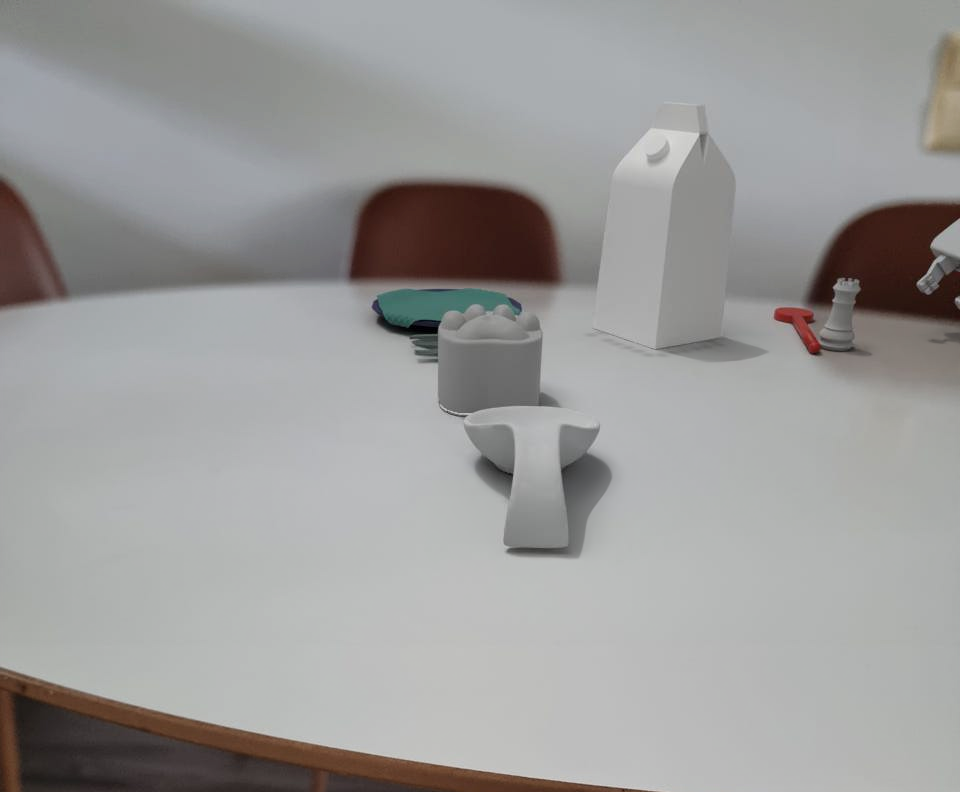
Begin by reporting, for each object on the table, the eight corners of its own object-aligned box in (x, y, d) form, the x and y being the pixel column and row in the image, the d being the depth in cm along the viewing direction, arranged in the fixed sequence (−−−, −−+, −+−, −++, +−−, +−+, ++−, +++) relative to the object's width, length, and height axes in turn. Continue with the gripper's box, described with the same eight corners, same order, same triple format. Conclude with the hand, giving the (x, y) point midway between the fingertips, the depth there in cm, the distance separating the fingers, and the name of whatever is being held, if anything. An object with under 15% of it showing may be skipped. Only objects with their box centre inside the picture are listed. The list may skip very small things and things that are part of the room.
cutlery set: (506, 301, 139) (506, 284, 138) (554, 358, 114) (556, 339, 113) (366, 303, 136) (366, 286, 135) (385, 363, 111) (384, 342, 110)
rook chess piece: (810, 342, 124) (823, 276, 119) (844, 342, 124) (858, 276, 120) (824, 351, 120) (838, 283, 116) (859, 351, 120) (874, 284, 116)
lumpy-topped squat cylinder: (437, 415, 96) (437, 326, 91) (438, 377, 107) (438, 295, 102) (543, 417, 96) (548, 327, 92) (532, 378, 107) (536, 297, 103)
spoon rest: (463, 438, 90) (464, 361, 87) (590, 441, 91) (596, 364, 87) (458, 551, 70) (459, 457, 67) (620, 555, 70) (630, 461, 67)
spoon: (771, 313, 137) (773, 303, 136) (809, 315, 136) (811, 305, 135) (792, 353, 119) (794, 342, 118) (836, 356, 118) (838, 344, 117)
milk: (721, 337, 125) (756, 106, 111) (654, 349, 119) (683, 107, 105) (656, 317, 133) (681, 100, 119) (591, 327, 127) (610, 101, 114)
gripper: (980, 181, 124) (888, 262, 128) (1080, 205, 106) (970, 298, 110) (1003, 219, 126) (912, 298, 130) (1104, 248, 109) (996, 337, 113)
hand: (939, 298), depth 120 cm, fingers open, 8 cm apart
